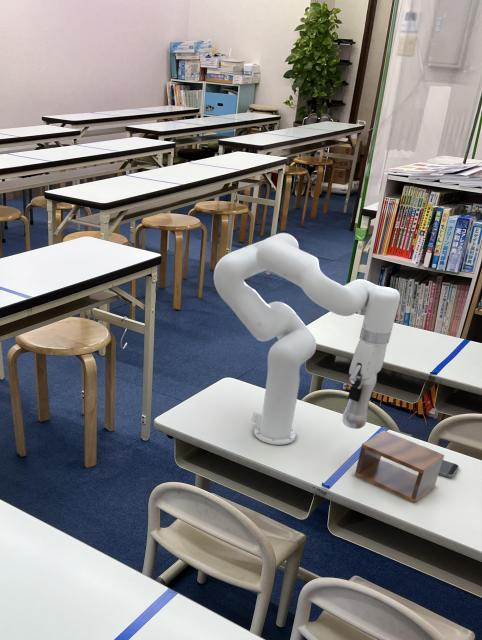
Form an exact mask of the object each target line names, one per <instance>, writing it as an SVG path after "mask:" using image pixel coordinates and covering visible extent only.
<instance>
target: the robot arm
mask: <svg viewBox="0 0 482 640" xmlns="http://www.w3.org/2000/svg"><path fill="white" fill-rule="evenodd" d="M265 271H270V272H271V273H273V274H275V275H277V276H279V277H281V278H283V279H285V280H287V281H289V282H290V283H292V284H295V285H296V286H298V287H299V288H300V289H301V290H302V291H303V293H304V294H305V295H306V296H307V297H308V298H309V299H310V300H311V301H312V302H313V303H315V304H316V305H317V306H319V307H321V308H323V309H325V310H326V311H329V312H331V313H333V314H335V315H337V316H341V317H350V316H353V315H355V314H356V313H358V312H359V311H362V310H365V313H364V315H363V321H362V324H361V330H360V333H359V338H358V339H359V340H358V342H357V344H356V347H355V349H354V352H353V356H352V359H351V363H350V366H349V370H348V374H349V375H350V376H349V378H348V380H349V383H350V385H349V386H350V388H349V392H348V396H347V398H348V400H349V399H351V400H354V401H356V402H358V401H360V397H361V393H362V388H361V387H362V385H363V382H364V380H365V379H366V378H368V377H370V376H371V375H373V374H375V375H376V380H377V379H378V375H379V373H380V371H382V368H383V366H384V361H385V356H386V352H387V347H388V345H389V344H390V339H391V335H392V332H393V327H394V323H395V320H396V315H397V312H398V308H399V304H400V301H401V294H400V292H399V291H398V290H397V289H395V288H392V287H387V286H380V285H378V284H375V283H373V282H371V281H368V280H366V279H359V278H358V279H354V280H352V281H350V282H348V283H346V284H344V285H342V284H341V283H338V282H337V281H335V280H332V279H331V278H329V277H328V276H326V275H325V274H324V272H323V271H322V270H321V268H320V262H319V259H318V258H317V257H316V256H314V255H313V254H310V253H309V252H306V251H304V250H302V249H300V247H299V242H298V240H297V239H296V238H295V237H294V236H293V235H291V234H290V233H287V232H280V233H276V234H275V235H272V236H269V237H267V238H264V239H263V240H260V241H257V242H255V243H252V244H249V245H245V246H244V247H241V248H238V249H236V250H233V251H230V252H228V253H227V254H225V255H224V256H222V257H221V258H220V259H219V260H218V262H217V263H216V265H215V267H214V270H213V284H214V287H215V290H216V292H217V294H218V295H219V296H220V298H221V299H222V300H223V302H225V304H226V305H227V306H228V307H229V308H230V309H231V311H233V312H234V313H235V315H236V317H237V318H238V319H239V320H240V322H241V323H242V324H243V325H244V326H245V328H246V329H247V330H248V331H249V333H250V334H251V335H252V336H253V338H255V340H257V341H259V342H268V341H271V340H274V338H276V339H277V340H276V341H275V342H274V343H273V345H271V347H270V348H269V351H268V354H267V374H266V375H267V376H266V382H265V391H264V398H263V404H262V412H261V413H258V412H256V411H255V412H253V414H252V417H251V418H250V421H251V422H253V423H256V426H255V427H254V431H253V434H254V436H255V437H256V438H257V439H258V440H259V441H261V442H264V443H267V444H270V445H276V446H277V445H278V446H279V445H281V446H282V445H288V444H291V443H293V442H294V441H295V439H296V436H297V435H296V431H295V430H294V429H293V424H294V418H295V411H296V406H297V400H298V396H299V395H298V394H299V388H300V377H301V376H300V369H301V366H302V365H303V364H304V363H306V362H307V361H308V360H309V359H311V358H312V357H313V355H314V354H315V353H316V350H317V341H316V338H315V336H314V334H313V333H312V332H311V330H310V329H309V328H308V327H307V325H306V324H305V323H304V322H303V321H302V318H300V316H298V314H297V313H296V312H295V310H293V308H292V307H291V306H289V305H288V304H286V303H284V302H282V301H272V302H269V303H267V302H266V301H265V300H264V299H263V298H262V296H261V295H260V294H259V293H258V291H256V289H254V288H252V287H251V286H250V285H248V284H247V283H246V282H245V280H246V279H249V278H251V277H253V276H255V275H257V274H260V273H263V272H265ZM359 374H361V375H362V377H360V376H358V375H359ZM357 378H359V379H361V380H360V383H359V382H358V381H357ZM373 391H374V390H373ZM373 391H372V393H373Z"/></svg>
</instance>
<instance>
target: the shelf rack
mask: <svg viewBox="0 0 482 640" xmlns="http://www.w3.org/2000/svg"><path fill="white" fill-rule="evenodd" d="M444 457H445V454H444V453H441V452H438V451H436V450H433V449H430V448H428V447H426V446H423V445H421V444H418V443H416V442H414V441H411V440H409V439H406V438H404V437H402V436H398V435H397V434H394V433H391V432H389V431H387V430H382V431H380V432H379V433H377V434H375V435H374V436H373V437H371V438H369V439H368V440H366V441H365V442H362V444H361V447H360V451H359V456H358V460H357V463H356V468H355V473H354V477H356V478H359V479H361V480H362V481H364V482H367V483H369V484H371V485H373V486H376V487H377V488H381V489H382V490H384V491H387V492H388V493H391V494H393V495H396V496H397V497H400V498H402V499H404V500H405V501H408V502H410V503H413V504H415V503H417V502H418V501H419V500H420V499H421V498H422V497H424V496H425V495H427V493H429V492H430V491H431V490H432V489H434V488H435V487H436V483H437V480H438V477H439V471H440V467H441V464H442V461H443V460H444ZM382 458H384V459H387V460H388V461H391V462H394V463H395V464H398V465H401V466H403V467H405V468H408V469H410V470H412V471H415V472H417V473H418V474H414V473H413V472H410V471H409V470H407V469H403V468H402V467H398V466H396V465H394V464H392V463H390V462H387V461H385V460H383V459H382Z"/></svg>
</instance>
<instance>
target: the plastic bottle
mask: <svg viewBox="0 0 482 640" xmlns="http://www.w3.org/2000/svg"><path fill="white" fill-rule="evenodd" d="M358 376H360V377H362V375H361V374H359V375H358ZM360 380H361V379H359V378H357V381H358V382H359V383H360ZM376 385H377V379H376V375H375V374H373V375H371V376H370V377H368V378H366V379H365V380H364V382H363V385H362V387H361V388H362V393H361V397H360V401H358V402H356V401H354V400H351V399H349V398H348V401H347V404H346V406H345V409H344V411H343V413H342V423H343V425H344V426H345V427H347V428H350V429H354V430H358V429H359V430H360V429H362V428H364V427H365V425H366V424H367V421H368V411H369V403H370V401H371V397H372V395H373V392H372V391H374V389H375V386H376Z"/></svg>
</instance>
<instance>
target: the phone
mask: <svg viewBox="0 0 482 640" xmlns="http://www.w3.org/2000/svg"><path fill="white" fill-rule="evenodd" d="M458 470H459V464H457V463H455V462H451V461H448V460H445V459H443V461H442V464H441V467H440V471H439V474H438V476H439V475H440V476H442V477H445V478H450V479H451V478H454V476H455V475H456V473H457V471H458Z"/></svg>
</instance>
